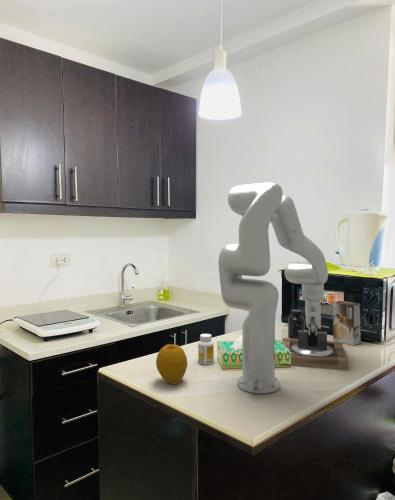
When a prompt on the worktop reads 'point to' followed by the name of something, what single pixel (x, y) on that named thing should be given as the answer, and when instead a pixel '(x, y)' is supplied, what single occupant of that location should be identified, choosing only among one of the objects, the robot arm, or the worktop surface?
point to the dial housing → (333, 362)
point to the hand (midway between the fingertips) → (312, 342)
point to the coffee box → (346, 322)
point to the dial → (304, 349)
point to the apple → (171, 363)
